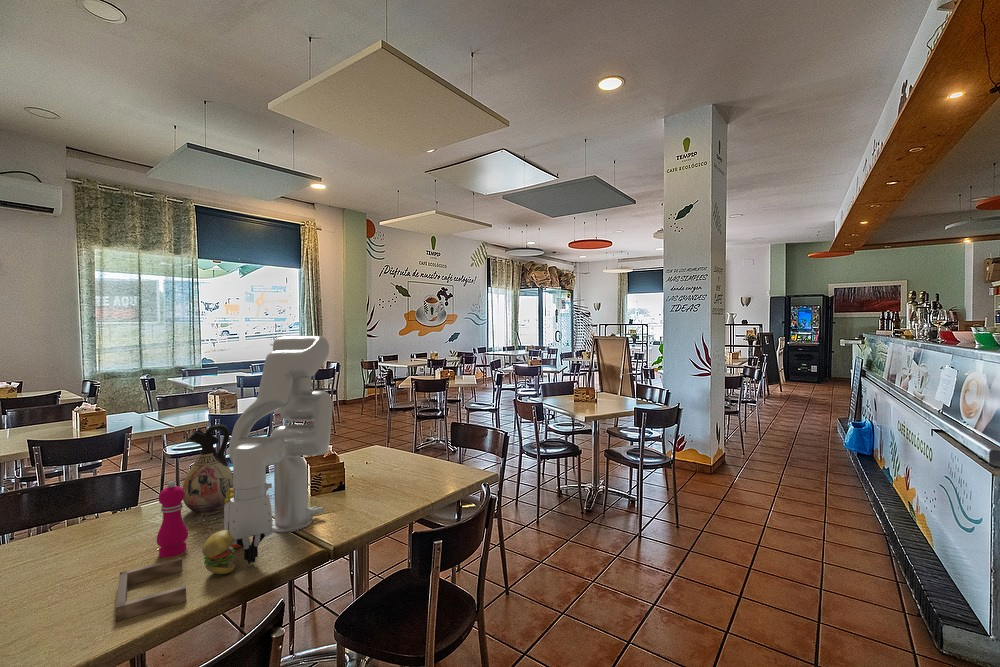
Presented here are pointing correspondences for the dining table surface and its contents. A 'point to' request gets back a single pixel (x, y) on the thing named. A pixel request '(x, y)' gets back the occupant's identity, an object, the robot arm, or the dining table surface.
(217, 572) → the hamburger
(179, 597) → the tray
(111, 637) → the dining table surface
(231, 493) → the french fries container
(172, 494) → the pepper mill
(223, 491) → the ceramic jug
